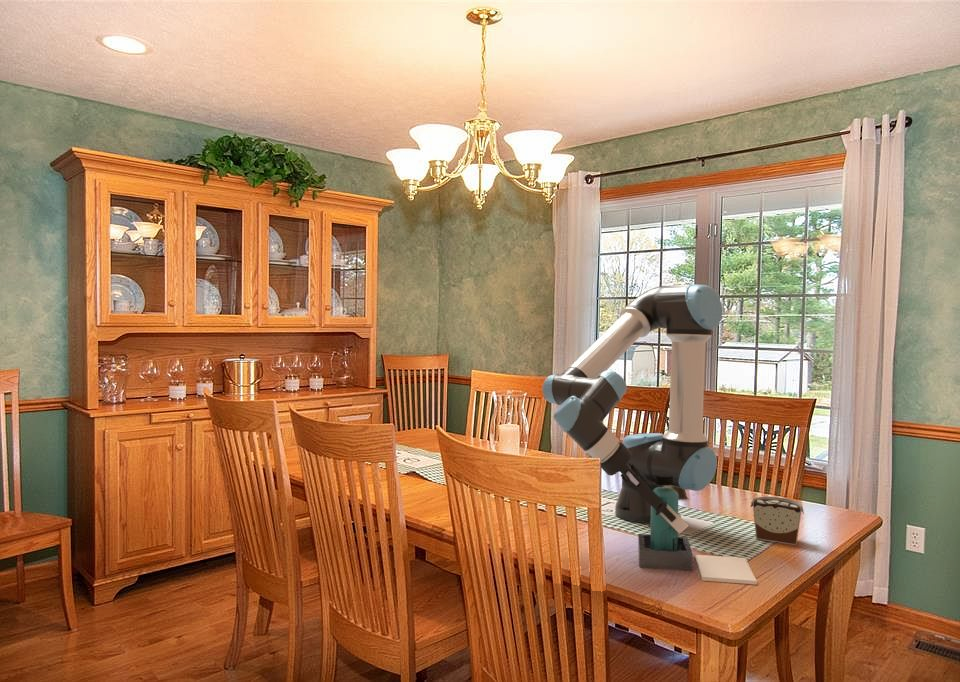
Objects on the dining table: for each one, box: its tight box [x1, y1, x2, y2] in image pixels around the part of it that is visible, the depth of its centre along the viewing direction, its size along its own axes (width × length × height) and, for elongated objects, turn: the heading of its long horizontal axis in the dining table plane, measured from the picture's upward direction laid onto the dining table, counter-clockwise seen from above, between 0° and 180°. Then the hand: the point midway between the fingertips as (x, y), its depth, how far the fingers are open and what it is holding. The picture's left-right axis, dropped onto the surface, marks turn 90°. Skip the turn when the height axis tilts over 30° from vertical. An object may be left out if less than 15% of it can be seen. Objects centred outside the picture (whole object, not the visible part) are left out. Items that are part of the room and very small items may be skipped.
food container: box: [750, 496, 805, 546], centre depth 174 cm, size 12×6×10 cm, turn 59°
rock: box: [664, 485, 688, 499], centre depth 217 cm, size 11×9×10 cm
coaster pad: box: [694, 554, 758, 585], centre depth 152 cm, size 14×11×1 cm
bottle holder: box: [637, 533, 693, 572], centre depth 159 cm, size 11×11×4 cm
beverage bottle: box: [649, 473, 680, 550], centre depth 158 cm, size 6×7×20 cm
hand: (680, 524), depth 158 cm, fingers closed on beverage bottle, 6 cm apart
